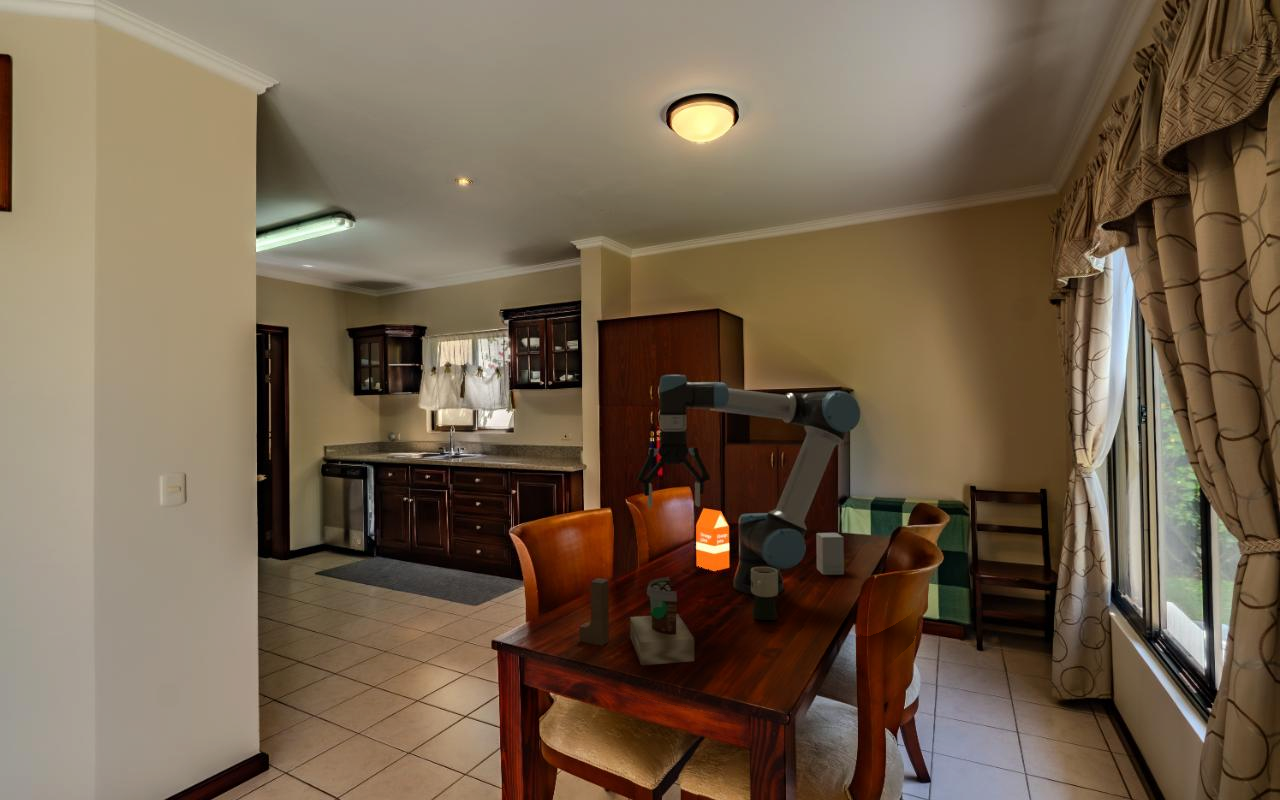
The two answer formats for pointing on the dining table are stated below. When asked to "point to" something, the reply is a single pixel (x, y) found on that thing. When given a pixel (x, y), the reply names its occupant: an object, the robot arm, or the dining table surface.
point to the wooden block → (597, 615)
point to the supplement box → (830, 553)
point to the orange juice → (712, 540)
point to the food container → (662, 605)
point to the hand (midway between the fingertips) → (673, 506)
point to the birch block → (661, 642)
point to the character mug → (764, 592)
